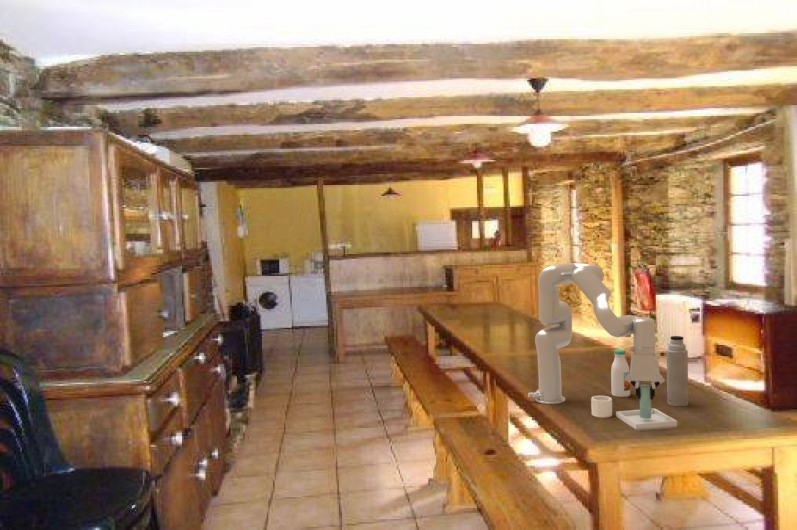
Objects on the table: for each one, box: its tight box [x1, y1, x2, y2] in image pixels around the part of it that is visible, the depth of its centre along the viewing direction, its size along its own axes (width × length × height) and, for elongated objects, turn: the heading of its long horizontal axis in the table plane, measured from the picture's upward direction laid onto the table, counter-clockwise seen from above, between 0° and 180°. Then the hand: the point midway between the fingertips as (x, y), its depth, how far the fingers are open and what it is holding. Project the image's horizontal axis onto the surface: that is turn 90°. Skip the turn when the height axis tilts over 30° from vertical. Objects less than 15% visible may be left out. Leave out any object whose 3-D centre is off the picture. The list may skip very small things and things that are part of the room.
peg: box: [639, 384, 652, 419], centre depth 243 cm, size 4×4×12 cm
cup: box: [590, 395, 613, 418], centre depth 254 cm, size 8×8×7 cm
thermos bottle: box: [666, 335, 689, 407], centre depth 264 cm, size 8×8×28 cm
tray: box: [615, 408, 678, 432], centre depth 244 cm, size 16×16×2 cm
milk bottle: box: [610, 348, 631, 398], centre depth 281 cm, size 8×8×20 cm
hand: (645, 397), depth 243 cm, fingers closed on peg, 4 cm apart
